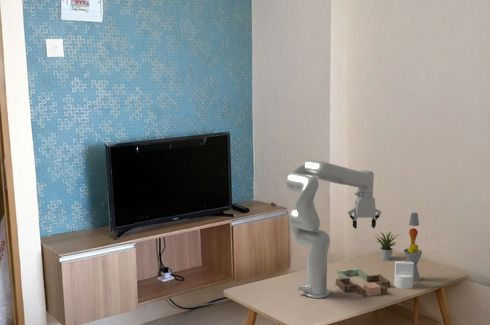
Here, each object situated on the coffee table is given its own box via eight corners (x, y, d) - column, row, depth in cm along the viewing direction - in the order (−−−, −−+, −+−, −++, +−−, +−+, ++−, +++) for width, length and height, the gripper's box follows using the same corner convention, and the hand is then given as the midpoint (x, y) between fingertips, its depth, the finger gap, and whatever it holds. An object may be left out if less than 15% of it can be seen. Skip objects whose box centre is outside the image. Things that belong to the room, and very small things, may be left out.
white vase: (395, 288, 283) (396, 265, 281) (393, 281, 292) (394, 259, 290) (414, 289, 282) (415, 265, 280) (411, 282, 291) (412, 260, 289)
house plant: (396, 254, 336) (397, 227, 333) (404, 262, 322) (405, 234, 320) (372, 255, 335) (373, 228, 333) (379, 262, 321) (380, 234, 319)
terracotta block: (369, 296, 274) (369, 288, 273) (363, 291, 280) (363, 283, 279) (380, 294, 275) (380, 286, 275) (374, 290, 281) (374, 282, 281)
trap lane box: (351, 298, 271) (352, 292, 270) (326, 277, 298) (326, 271, 298) (397, 292, 277) (398, 286, 277) (369, 273, 305) (369, 267, 304)
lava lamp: (399, 276, 299) (401, 211, 294) (414, 275, 301) (417, 210, 296) (408, 282, 290) (411, 215, 285) (424, 281, 293) (427, 214, 288)
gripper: (351, 196, 286) (349, 230, 289) (384, 196, 289) (382, 229, 291) (346, 193, 294) (345, 226, 296) (379, 193, 296) (377, 225, 298)
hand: (364, 227), depth 294 cm, fingers open, 9 cm apart
